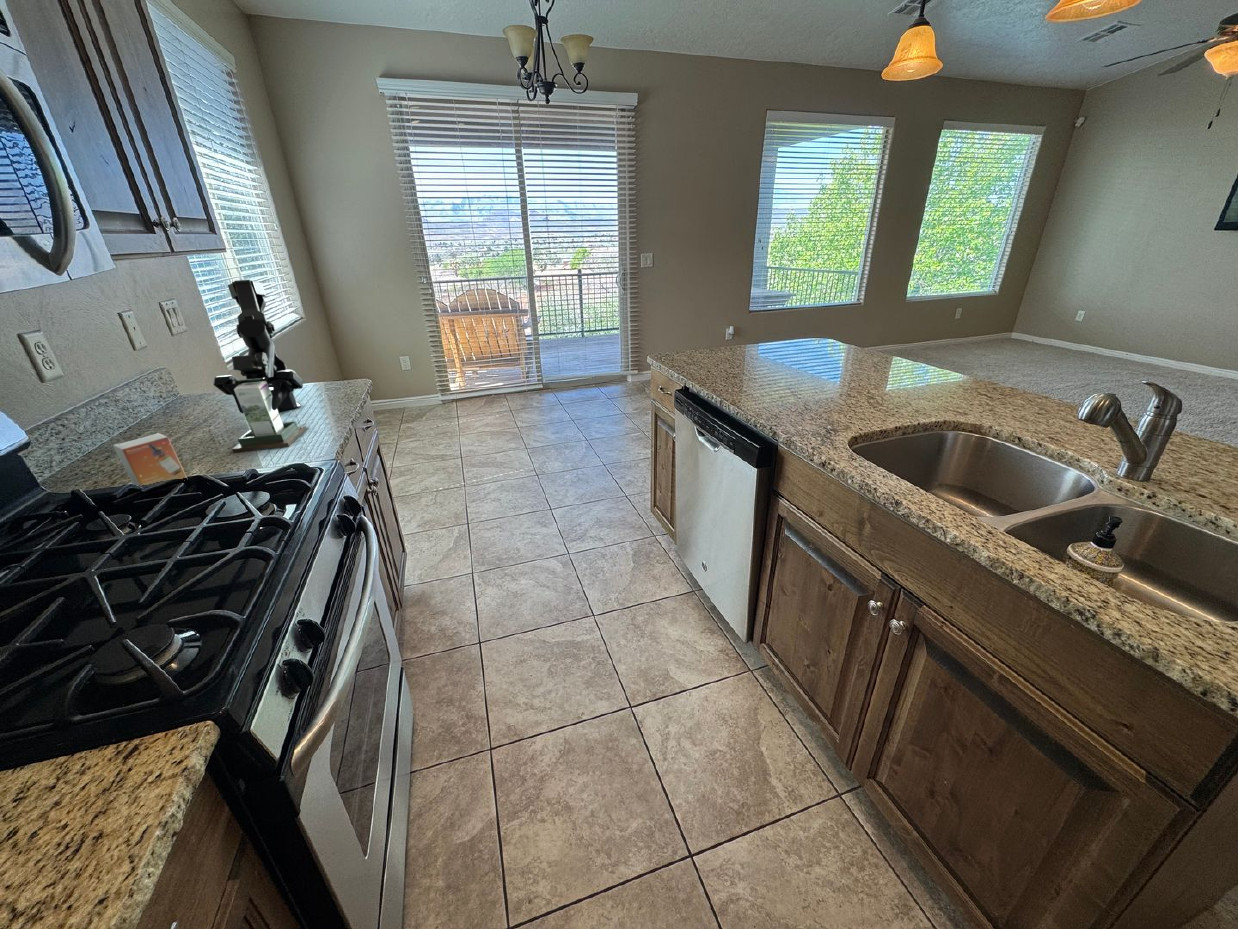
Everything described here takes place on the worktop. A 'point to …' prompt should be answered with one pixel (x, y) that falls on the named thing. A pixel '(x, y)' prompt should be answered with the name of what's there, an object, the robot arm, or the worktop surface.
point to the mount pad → (270, 439)
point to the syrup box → (259, 408)
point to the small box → (150, 460)
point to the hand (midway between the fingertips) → (257, 411)
